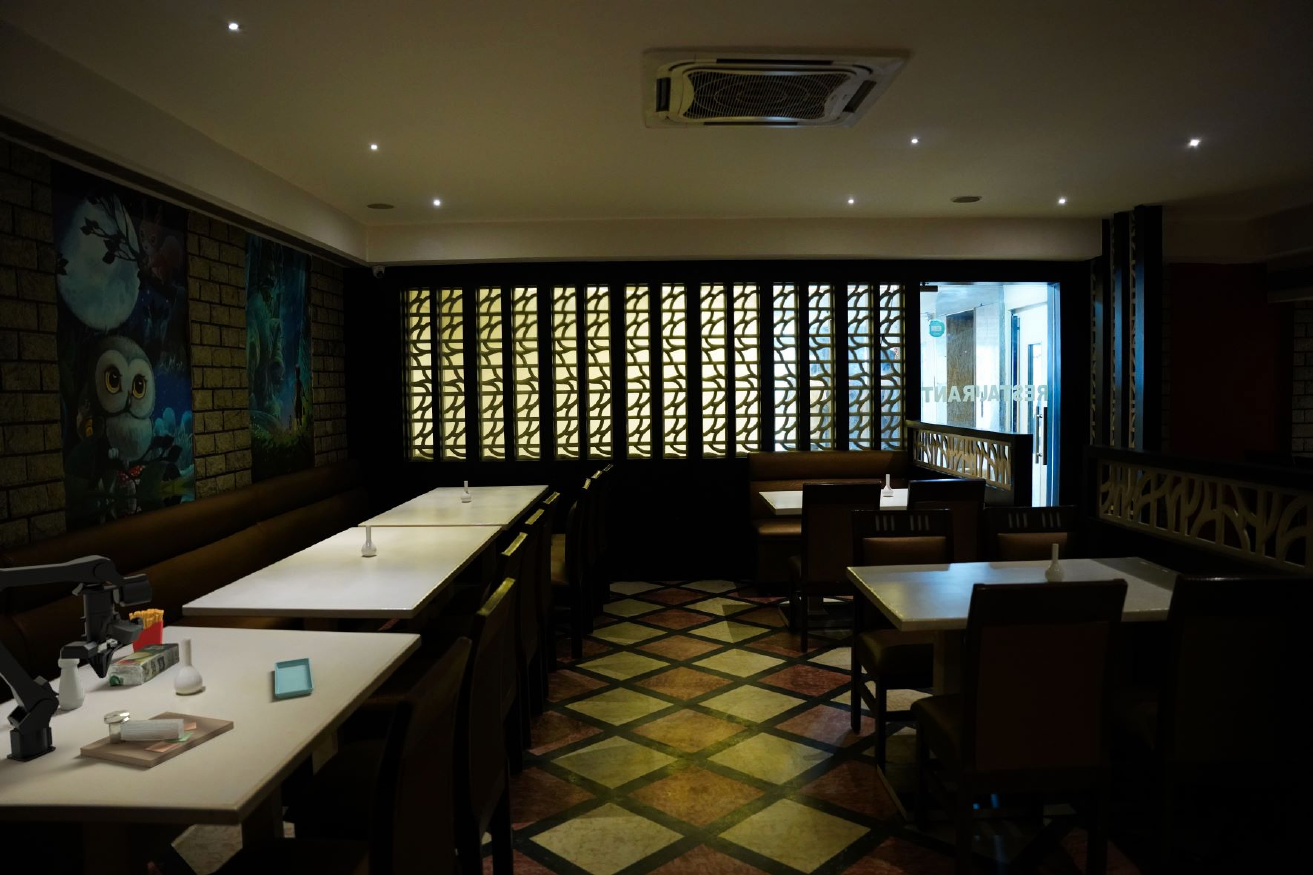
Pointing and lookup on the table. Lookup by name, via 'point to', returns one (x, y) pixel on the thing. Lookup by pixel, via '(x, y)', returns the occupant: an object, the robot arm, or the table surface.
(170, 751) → the brown cutting board
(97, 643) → the robot arm
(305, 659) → the rectangular tray
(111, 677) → the juice carton
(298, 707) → the table surface
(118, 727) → the bar with metal cap
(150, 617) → the french fries
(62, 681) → the salt shaker
